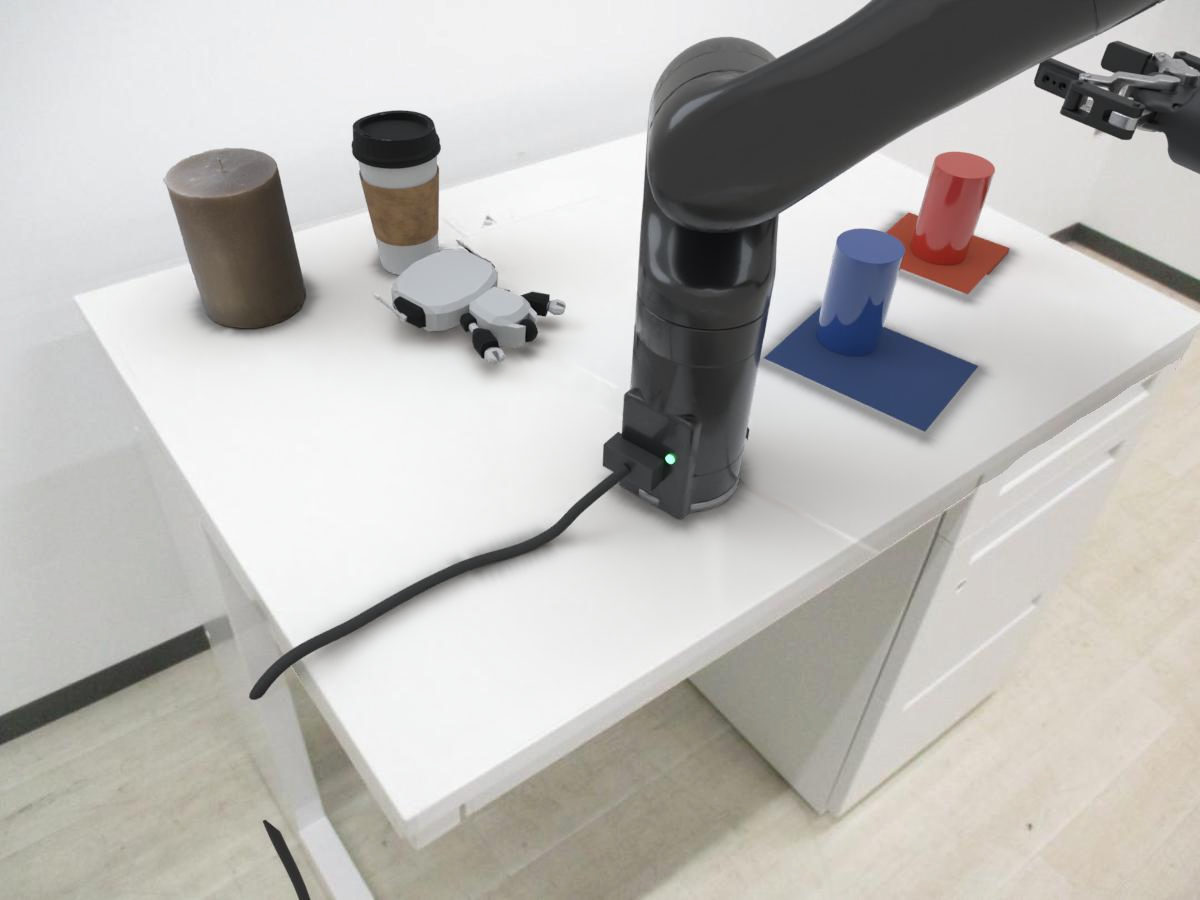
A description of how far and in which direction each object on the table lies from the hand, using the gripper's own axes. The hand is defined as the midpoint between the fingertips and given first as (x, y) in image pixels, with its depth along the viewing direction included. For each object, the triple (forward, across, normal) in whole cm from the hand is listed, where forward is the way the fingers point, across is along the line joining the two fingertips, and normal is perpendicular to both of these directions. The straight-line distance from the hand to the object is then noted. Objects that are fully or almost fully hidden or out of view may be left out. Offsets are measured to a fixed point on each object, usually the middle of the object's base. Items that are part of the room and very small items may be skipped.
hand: (1073, 61), depth 78 cm
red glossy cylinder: (+10, -4, +24) cm, 27 cm away
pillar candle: (+37, +62, +25) cm, 77 cm away
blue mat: (-1, +16, +25) cm, 30 cm away
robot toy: (+23, +45, +25) cm, 57 cm away
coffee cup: (+37, +46, +25) cm, 64 cm away
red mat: (+10, -4, +25) cm, 27 cm away
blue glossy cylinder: (+3, +16, +24) cm, 29 cm away
